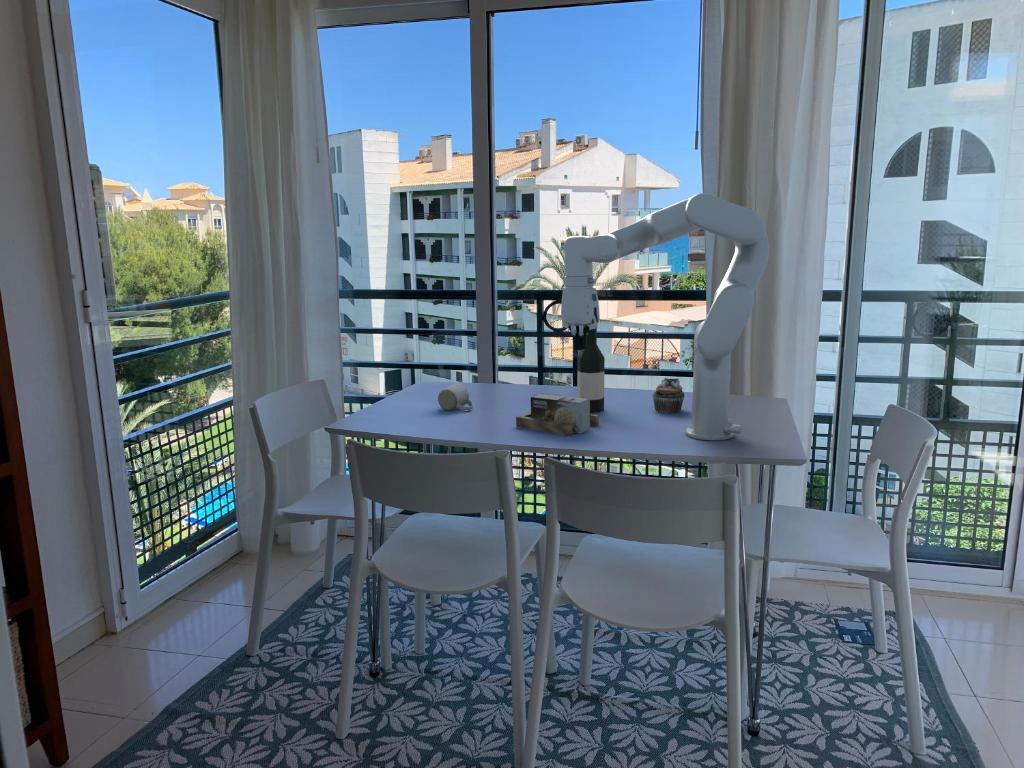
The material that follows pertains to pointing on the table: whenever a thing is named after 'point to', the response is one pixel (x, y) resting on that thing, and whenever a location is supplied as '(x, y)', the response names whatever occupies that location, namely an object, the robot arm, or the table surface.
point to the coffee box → (562, 410)
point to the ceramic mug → (454, 397)
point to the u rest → (549, 424)
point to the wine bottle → (591, 373)
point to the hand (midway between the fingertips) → (580, 349)
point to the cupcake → (668, 396)
